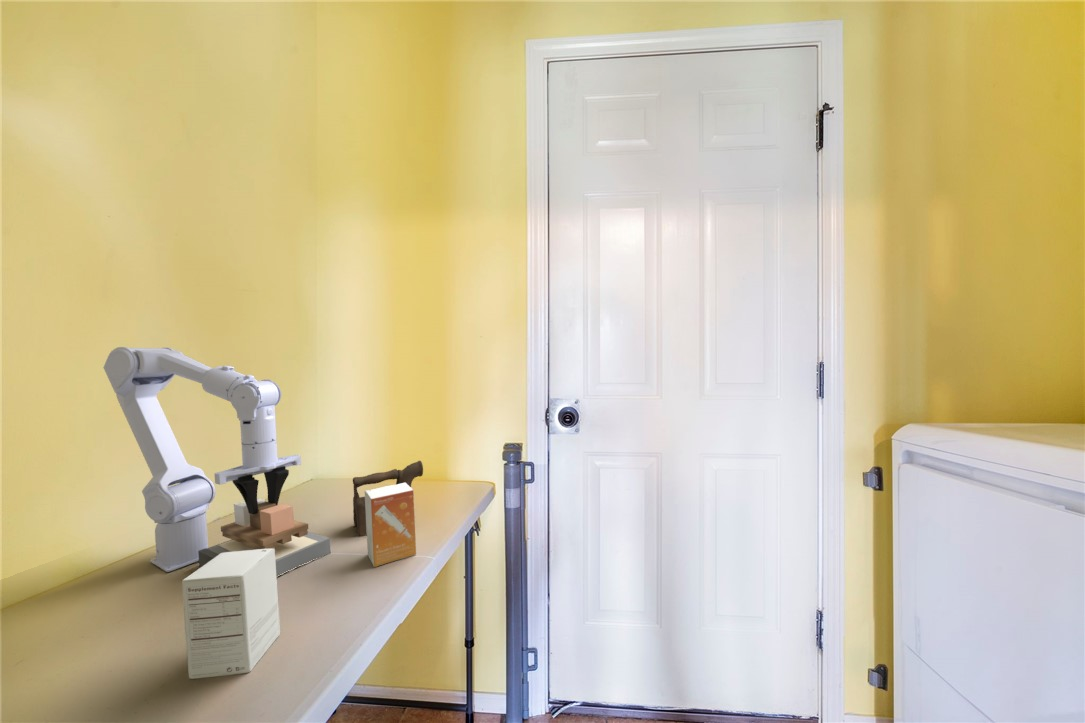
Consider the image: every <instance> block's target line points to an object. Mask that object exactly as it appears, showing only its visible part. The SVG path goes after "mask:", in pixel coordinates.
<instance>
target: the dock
mask: <svg viewBox="0 0 1085 723" xmlns="http://www.w3.org/2000/svg"><path fill="white" fill-rule="evenodd" d="M307 531H308V534H307V535H305V536H302V537H300V538H299V537H295V536H292V535H291V536H292V541H290V542H287V543H285V544H280V543H277V542H274V544H275V548H272V549H275V562H276V576H278V575H280V574H282V573H284V572H286V571H288V570H291V569H293V568H295V567H298V566H299V565H302V564H304V563H307V562H309V561H311V560H313V559H316V558H319V557H321V558H323V557H325V556H327V555H330V554H331V538H330V537H327V536H324V535H321V534H318V533H314V532H311V531H309V530H307ZM256 549H257V548H254V547H252V546H249V545H246V544H243V543H240V542H238V541H235V540H232V539H229V540H227V541H224V542H221V543H218V544H214V545H213V546H210V547H209V546H208V548H205V549H202V550H199V551H198V555H199V561H198V567H199V568H201V567H202V566H204V565H205V564H206V563H208V562H209V561H211V560H212V559H214V558H215V557H216V556H218V555H219V554H220V553H224V552H235V551H246V550H256ZM326 554H327V555H326ZM324 555H325V556H324ZM322 556H323V557H322ZM319 559H320V558H319ZM316 560H317V559H316Z"/></svg>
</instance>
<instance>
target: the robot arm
mask: <svg viewBox="0 0 1085 723" xmlns="http://www.w3.org/2000/svg"><path fill="white" fill-rule="evenodd" d="M103 369H104V372H105V374H106V376H107V378H108V381H109V383H110V385H111V388H112V389H113V391H114V394H115V395H116V396H115V397H116V398H117V401H118V403H119V406H120V408H121V409H122V412H123V415H124V416H125V418H126V421H127V423H128V426H129V428H130V429H131V432H132V434H133V436H134V438H135V440H136V441H135V442H136V443H137V445H138V447H139V449H140V452H141V453H142V455H143V457H144V460H145V462H146V464H147V467H148V470H150V471H149V472H150V473H151V475H152V477H151V479H150V480H149V481H148V482H147V484H145V486H144V487H143V489H142V491H141V492H142V495H143V497H144V509H145V513H146V514H147V516H148V517H149V518H150V519H151V520H152V521H153V522H154V524H156V525H155V528H154V537H155V538H154V540H155V556H156V557H154V558H153V557H152V558H151V559H150V560H149V562H150V563H152V564H153V565H155V566H156V567H158V568H160V570H162V571H165V572H166V573H169V572H172V571H176V570H178V569H181V568H184V567H186V566H188V565H191V564H193V563H194V564H195V563H196V562H199V555H198V551H199V550H202V549H205V548H209V543H208V542H209V539H208V522H207V521H208V520H207V510H209V509H210V504H211V503H212V502H213V501H214V499H215V496H216V486H215V485H224V484H227V483H228V482H232V483H233V485H234V486H235V488H236V489H237V490H238V491H239V493H240V494H241V496H242V498H243V501H245V503H246V505H247V508H248V512H249V513H250V514H257V512H258V503H257V498H258V488H259V481H260V480H258V479H256V478H255V476H257V475H262V474H263V476H264V479H265V483H266V487H267V489H266V490H267V502H270V503H274V504H276V506H277V505H279V500H280V496H281V493H282V489H283V486H284V484H285V482H286V480H287V478H288V477H289V474H290V470H289V469H287V468H289V467H293V466H294V467H295V466H300V465H302V458H301V455H299V454H293V455H289V456H288V455H287V456H283V457H278V456H279V455H278V444H277V442H278V441H277V440H278V439H277V424H276V423H277V422H276V408H275V407H276V406H277V405H278V404H279V403H280V401H281V397H282V392H281V388H280V387H279V386H280V385H278V384H277V383H276V382H274V381H273V380H272V379H262V380H257V379H256V378H255V376H254V375H252V374H243V373H241V372H238V371H236V370H235V367H234V366H232V365H222V366H215V367H210V366H208V365H206V364H204V363H202V362H200V361H197V360H195V359H193V358H191V357H189V356H187V355H185V354H183V352H182V351H181V350H177V349H176V350H175V349H174V348H172V347H161V348H160V347H157V348H155V347H127V346H119V347H116V348H113V350H111V351H110V353H109V354H108V356H107V359H106V361H105V363H104V365H103ZM176 376H178V377H181V378H184V379H187V380H190V381H194V382H196V383H199V384H201V386H202V389H203V391H204V392H206V393H208V394H210V395H213V396H216V397H218V398H221V399H222V400H225V401H227V402H230V404H231V406H232V408H233V409H235V411H236V416H237V417H236V418H237V419H238V421H239V424H240V440H241V441H240V442H241V458H242V459H241V461H242V465H239V466H236V467H231V468H228V469H225V470H222V471H219V472H215V473H214V483H213V481H212V480H211V479H210V478H208V476H206V474H205V472H204V470H203V469H202V468H200V467H199V466H198V467H197V466H194V465H192V464H189V463H188V462H187V460H186V458H185V455H184V454H183V451H182V449H181V447H180V445H179V443H178V440H177V438H176V436H175V434H174V432H173V430H172V428H171V426H170V423H169V421H168V419H167V416H166V414H165V412H164V410H163V409H162V405H161V404H160V401H159V399H158V394H159V392H160V391H163V390H164V389H165V388H166V387H167V386H168V385H169V384H170V382H171V381H172V379H174V377H176Z"/></svg>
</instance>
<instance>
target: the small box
mask: <svg viewBox="0 0 1085 723" xmlns="http://www.w3.org/2000/svg"><path fill="white" fill-rule="evenodd" d="M414 495H415V492H414V489H413V488H412V486H411V487H410V486H409V485H407V484H406V483H401V484H396V483H395V484H391V485H386V486H381V487H378V488H373V489H368V490H364V497H365V509H366V532H367V535H366V546H367V556H368V558H369V561H370V562H371V564H372V566H373V568H376V567H379V566H381V565H385V564H389V563H392V562H396V561H399V560H402V559H405V558H409V557H412V556H416V555H417V543H416V542H417V539H416V520H415V519H416V517H415V516H416V515H415V497H414Z"/></svg>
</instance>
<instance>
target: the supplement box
mask: <svg viewBox="0 0 1085 723" xmlns="http://www.w3.org/2000/svg"><path fill="white" fill-rule="evenodd" d="M277 578H278V577H276V562H275V549H272V548H271V549H256V550H246V551H235V552H224V553H220V554H219V555H218V556H216V557H215V558H214V559H212V560H211V561H209V562H208V563H206V564H205V565H204V566H202V567H199V568H198V569H196V570H195V571H193V573H191V574H190V575H188V576H187V577H185V578H184V579H182V581H181V583H182V584H181V585H182V586H181V587H182V598H183V600H182V601H183V612H184V613H183V614H184V616H183V617H184V628H185V629H184V630H185V642H186V643H185V645H186V655H187V656H186V657H187V658H186V659H187V671H188V673H187V674H188V679H192V680H194V679H204V678H212V677H214V678H215V677H222V676H231V675H240V674H247V673H250V672H251V671H252V670H253V668H254V667H255V666H256V664H258V662H259V661H260V659H261V658H262V657H263V656H264V655H265V654H266V653H267V651H268V650H269V648H270V647H271V646H272V645H273V643H274V642H275V641H276V640H277V638H278V637H279V636H280V635H281V627H280V625H281V624H280V623H281V622H280V610H279V597H278V596H279V594H278V581H277Z"/></svg>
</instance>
